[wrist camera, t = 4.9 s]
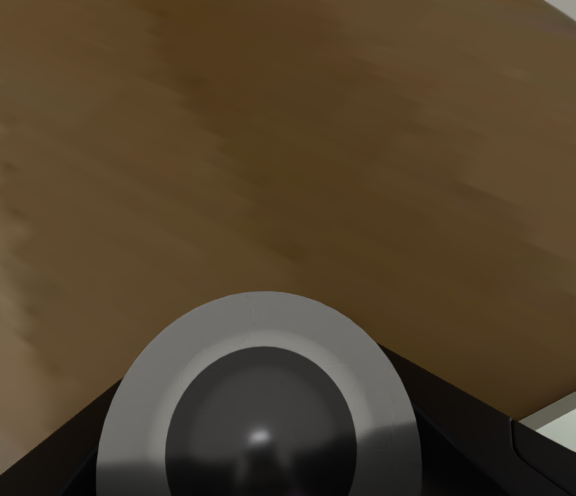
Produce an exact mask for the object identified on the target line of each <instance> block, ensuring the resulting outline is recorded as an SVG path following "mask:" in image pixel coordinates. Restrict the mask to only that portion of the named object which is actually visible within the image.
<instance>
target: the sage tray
mask: <svg viewBox="0 0 576 496" xmlns="http://www.w3.org/2000/svg"><path fill="white" fill-rule="evenodd" d="M518 422H520V423H522V424H524V425H525V426H527V427H529V428H531V429H533V430H534V431H536V432H538V433H540V434H542V435H544V436H546V437H547V438H549V439H551V440H553V441H555V442H557V443H559V444H561V445H562V446H564V447H566V448H568V449H570V450H572V451H574V452H576V391H575V392H573V393H571V394H569V395H568V396H566V397H564V398H562V399H560V400H558V401H556V402H554V403H552V404H551V405H549V406H547V407H545V408H543V409H541V410H539V411H537V412H535V413H534V414H532V415H530V416H528V417H526V418H524V419H522V420H520V421H518Z"/></svg>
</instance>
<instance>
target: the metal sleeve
mask: <svg viewBox="0 0 576 496" xmlns="http://www.w3.org/2000/svg"><path fill="white" fill-rule="evenodd" d="M421 482H422V458H421V446H420V438H419V433H418V428H417V423H416V418H415V415H414V412H413V409H412V406H411V403H410V400H409V397H408V395H407V392H406V390H405V388H404V386H403V383H402V381H401V379H400V377H399V375H398V374H397V372H396V370H395V369H394V367H393V365H392V364H391V362H390V360H389V359H388V358H387V356H386V355H385V354H384V353H383V351H382V350H381V349H380V347H379V346H378V345H377V344H376V343H375V342H374V341H373V340H372V339H371V337H370V336H369V335H368V334H367V333H366V332H365V331H364V330H362V329H361V328H360V327H359V326H357V325H356V324H355V323H354V322H353V321H351V320H350V319H349V318H347V317H346V316H344V315H342V314H341V313H339V312H338V311H336V310H334V309H333V308H330V307H328V306H326V305H324V304H322V303H320V302H318V301H315V300H312V299H309V298H306V297H302V296H299V295H294V294H289V293H283V292H270V291H259V292H245V293H240V294H234V295H229V296H226V297H223V298H219V299H216V300H213V301H210V302H208V303H206V304H204V305H201V306H199V307H197V308H195V309H193V310H191V311H190V312H188V313H186V314H185V315H183V316H181V317H180V318H178V319H177V320H175V321H174V322H173V323H172V324H170V325H169V326H168V327H166V328H165V329H164V330H163V331H161V332H160V333H159V334H158V335H157V336H156V337H155V338H154V339H153V340H152V341H151V342H150V343H149V344H148V345H147V346H146V348H145V349H144V350H143V351H142V352H141V354H140V355H139V356H138V357H137V358H136V360H135V361H134V363H133V364H132V366H131V367H130V369H129V370H128V372H127V373H126V375H125V376H124V378H123V380H122V382H121V384H120V386H119V388H118V390H117V392H116V394H115V396H114V398H113V400H112V403H111V405H110V408H109V411H108V413H107V416H106V419H105V422H104V426H103V430H102V434H101V438H100V442H99V450H98V457H97V465H96V496H420V494H421Z"/></svg>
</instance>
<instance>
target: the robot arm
mask: <svg viewBox="0 0 576 496" xmlns="http://www.w3.org/2000/svg"><path fill="white" fill-rule="evenodd" d="M375 343H376V342H375ZM376 344H377V345H378V346H379V347H380V349H381V350H382V351H383V353H384V354H385V355H386V356H387V358H388V359H389V360H390V362H391V364H392V365H393V367H394V369H395V370H396V372H397V374H398V375H399V377H400V379H401V381H402V383H403V386H404V388H405V390H406V392H407V395H408V397H409V400H410V403H411V406H412V409H413V412H414V415H415V418H416V423H417V428H418V433H419V438H420V446H421V458H422V482H421V494H420V496H576V452H574V451H572V450H570V449H568V448H566V447H564V446H562V445H561V444H559V443H557V442H555V441H553V440H551V439H549V438H547V437H546V436H544V435H542V434H540V433H538V432H536V431H534V430H533V429H531V428H529V427H527V426H525V425H524V424H522V423H520V422H518V421H516V420H514V419H513V420H512V421H511V418H510V417H509V416H507V415H505V414H504V413H502V412H500V411H498V410H496V409H495V408H493V407H491V406H489V405H488V404H486V403H484V402H482V401H480V400H479V399H477V398H475V397H473V396H471V395H470V394H468V393H466V392H464V391H462V390H461V389H459V388H457V387H455V386H454V385H452V384H450V383H448V382H446V381H445V380H443V379H441V378H439V377H437V376H436V375H434V374H432V373H430V372H428V371H427V370H425V369H423V368H421V367H419V366H418V365H416V364H414V363H412V362H411V361H409V360H407V359H405V358H403V357H402V356H400V355H398V354H396V353H394V352H393V351H391V350H389V349H387V348H385V347H384V346H382V345H380V344H378V343H376ZM123 378H124V377H123ZM123 378H121V379H120V380H119V381H118V382H116V383H115V384H114V385H113V386H111V387H110V388H109V389H108V390H106V391H105V392H104V393H103V394H101V395H100V396H99V397H98V398H96V399H95V400H94V401H93V402H91V403H90V404H89V405H88V406H86V407H85V408H84V409H83V410H81V411H80V412H79V413H78V414H76V415H75V416H74V417H73V418H71V419H70V420H69V421H68V422H66V423H65V424H64V425H63V426H61V427H60V428H59V429H58V430H56V431H55V432H54V433H53V434H51V435H50V436H49V437H48V438H46V439H45V440H44V441H43V442H41V443H40V444H39V445H38V446H36V447H35V448H34V449H33V450H31V451H30V452H29V453H28V454H26V455H25V456H24V457H22V458H21V459H20V460H19V461H17V462H16V463H15V464H14V465H12V466H11V467H10V468H9V469H7V470H6V471H5V472H4V473H2V474H1V475H0V496H96V465H97V457H98V450H99V442H100V438H101V434H102V430H103V426H104V422H105V419H106V416H107V413H108V411H109V408H110V405H111V403H112V400H113V398H114V396H115V394H116V392H117V390H118V388H119V386H120V384H121V382H122V380H123Z"/></svg>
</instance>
